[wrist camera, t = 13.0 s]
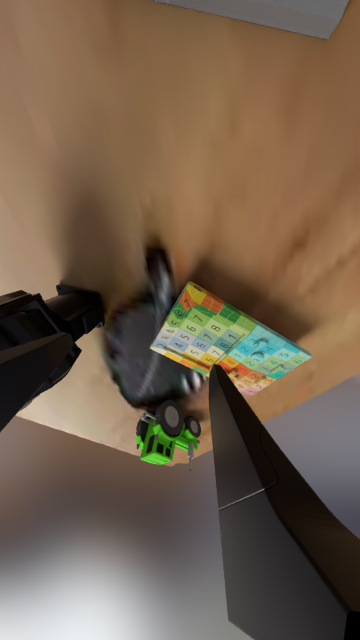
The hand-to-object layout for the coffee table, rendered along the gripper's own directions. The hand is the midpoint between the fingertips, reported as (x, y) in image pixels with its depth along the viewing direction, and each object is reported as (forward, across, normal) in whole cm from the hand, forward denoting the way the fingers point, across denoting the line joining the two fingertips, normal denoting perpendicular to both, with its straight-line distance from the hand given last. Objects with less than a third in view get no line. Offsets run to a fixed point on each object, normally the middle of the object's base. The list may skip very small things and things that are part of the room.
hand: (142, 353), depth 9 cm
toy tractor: (+13, -5, +34) cm, 37 cm away
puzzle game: (+14, -10, +6) cm, 18 cm away
